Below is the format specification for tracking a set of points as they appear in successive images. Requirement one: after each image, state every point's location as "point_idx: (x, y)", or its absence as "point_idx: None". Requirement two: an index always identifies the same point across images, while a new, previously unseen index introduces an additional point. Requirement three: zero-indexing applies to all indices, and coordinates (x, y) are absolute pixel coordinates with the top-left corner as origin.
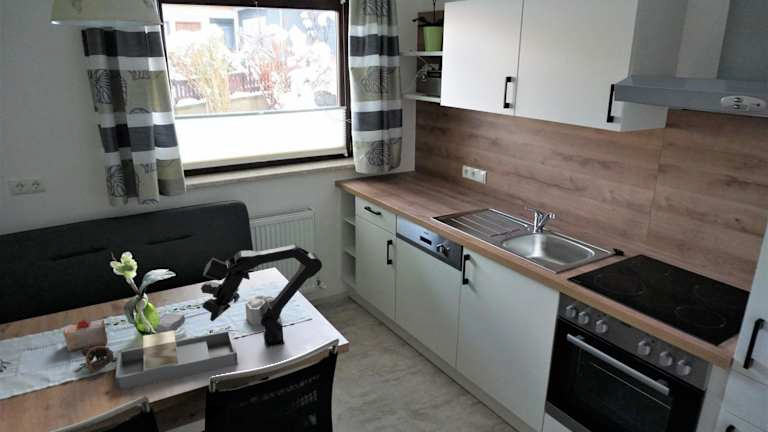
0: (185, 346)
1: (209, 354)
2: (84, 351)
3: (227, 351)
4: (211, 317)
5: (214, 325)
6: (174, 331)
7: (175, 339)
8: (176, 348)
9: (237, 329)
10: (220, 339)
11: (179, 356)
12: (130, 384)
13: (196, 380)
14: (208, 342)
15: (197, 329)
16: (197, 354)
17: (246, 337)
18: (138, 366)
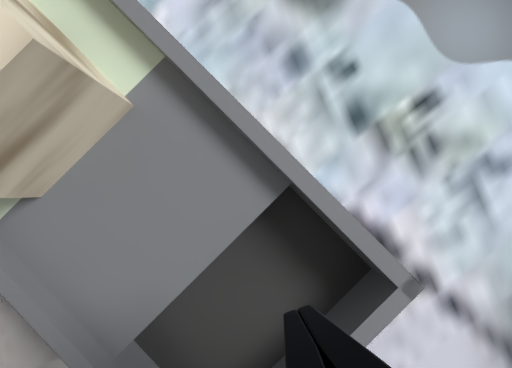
0: (183, 123)
1: (222, 256)
2: None
3: (281, 328)
4: (286, 363)
5: (485, 77)
6: (31, 49)
7: (70, 89)
8: (55, 141)
9: (501, 226)
10: (346, 241)
11: (87, 165)
12: None
13: (32, 334)
14: (297, 193)
15: (411, 19)
16: (139, 248)
17: (448, 327)
18: None
